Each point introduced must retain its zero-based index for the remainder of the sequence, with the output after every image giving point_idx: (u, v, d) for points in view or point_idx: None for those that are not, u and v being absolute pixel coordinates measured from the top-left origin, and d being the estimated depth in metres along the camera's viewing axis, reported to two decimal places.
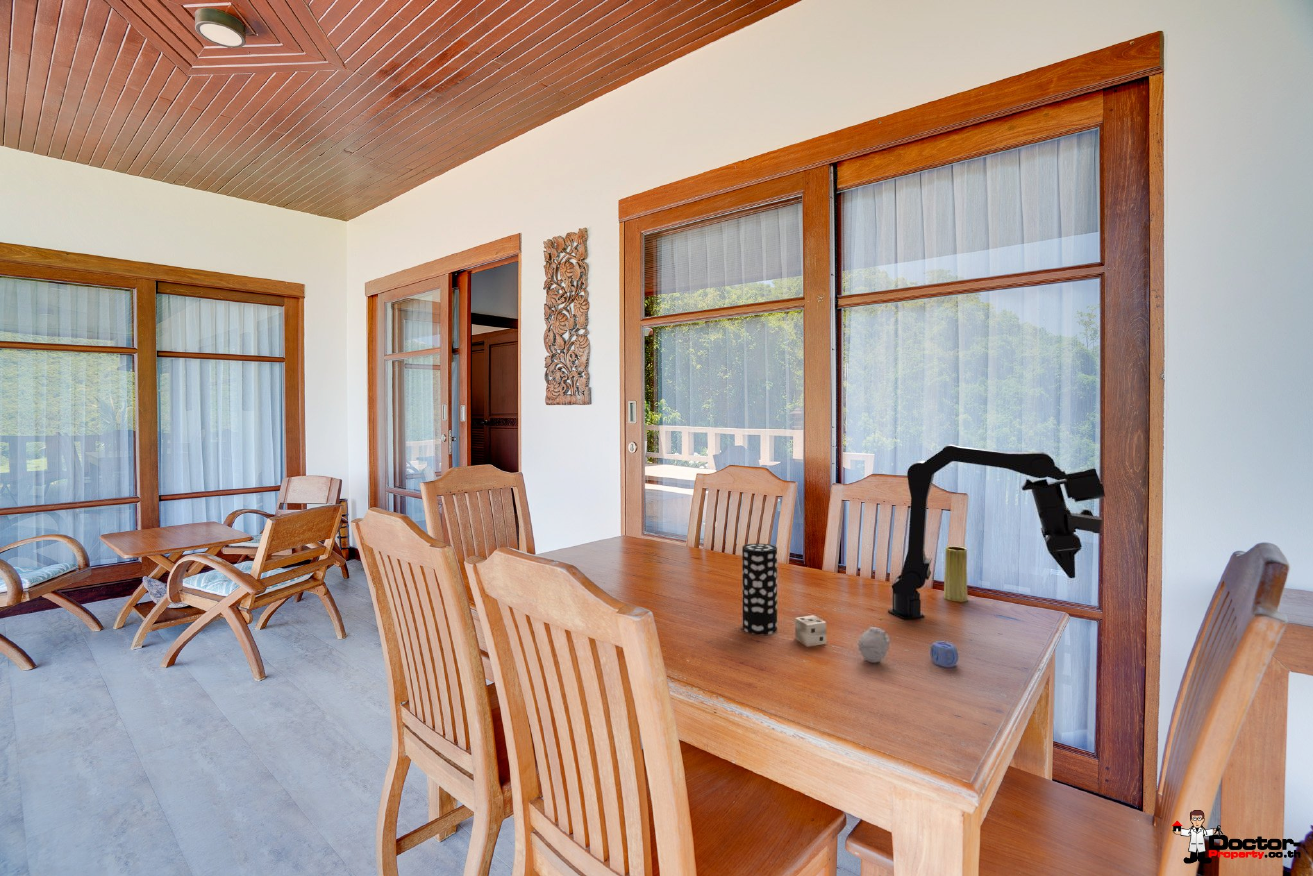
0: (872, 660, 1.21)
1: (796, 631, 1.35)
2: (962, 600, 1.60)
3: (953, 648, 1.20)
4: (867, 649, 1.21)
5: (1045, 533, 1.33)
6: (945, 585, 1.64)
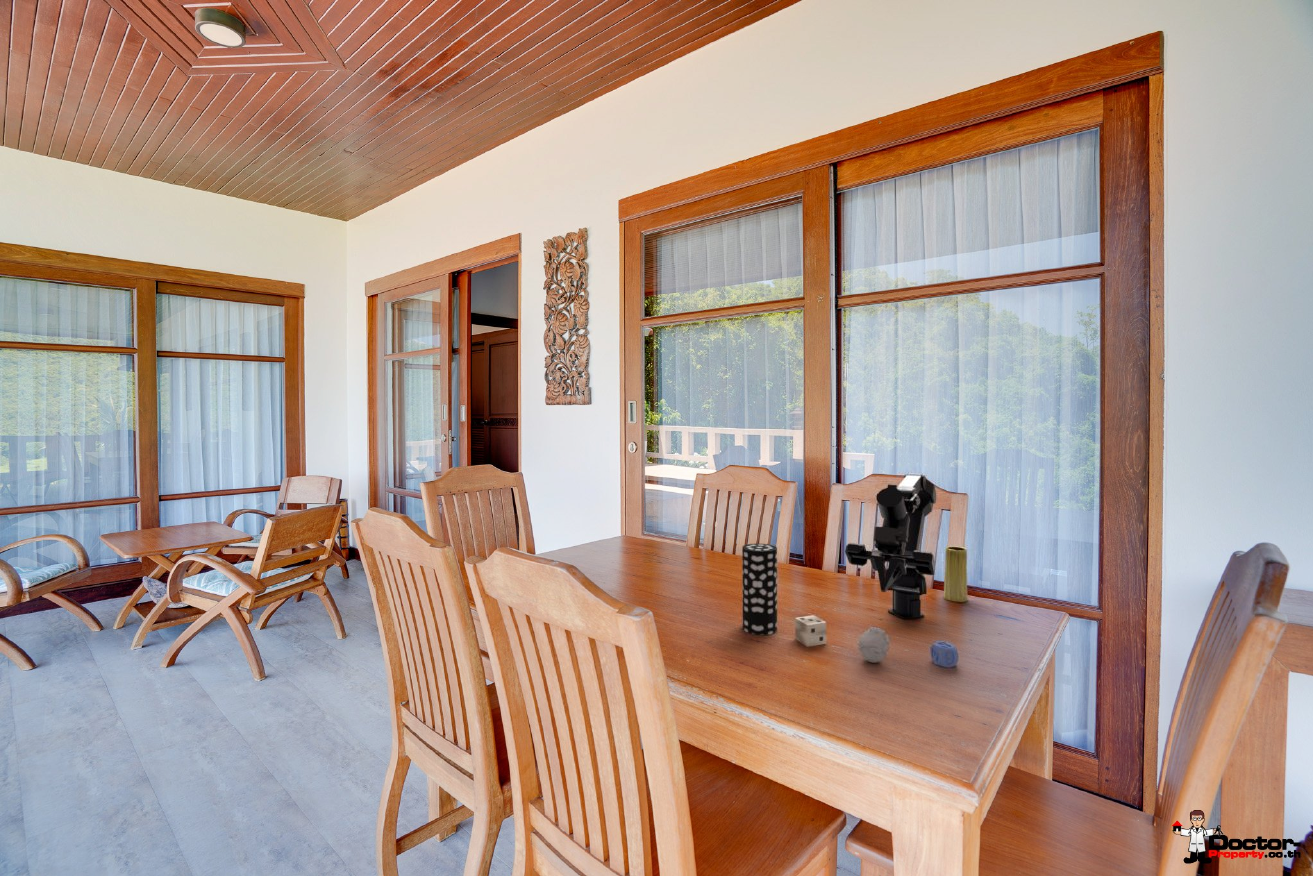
0: (872, 660, 1.21)
1: (796, 631, 1.35)
2: (962, 600, 1.60)
3: (953, 648, 1.20)
4: (867, 649, 1.21)
5: None
6: (945, 585, 1.64)
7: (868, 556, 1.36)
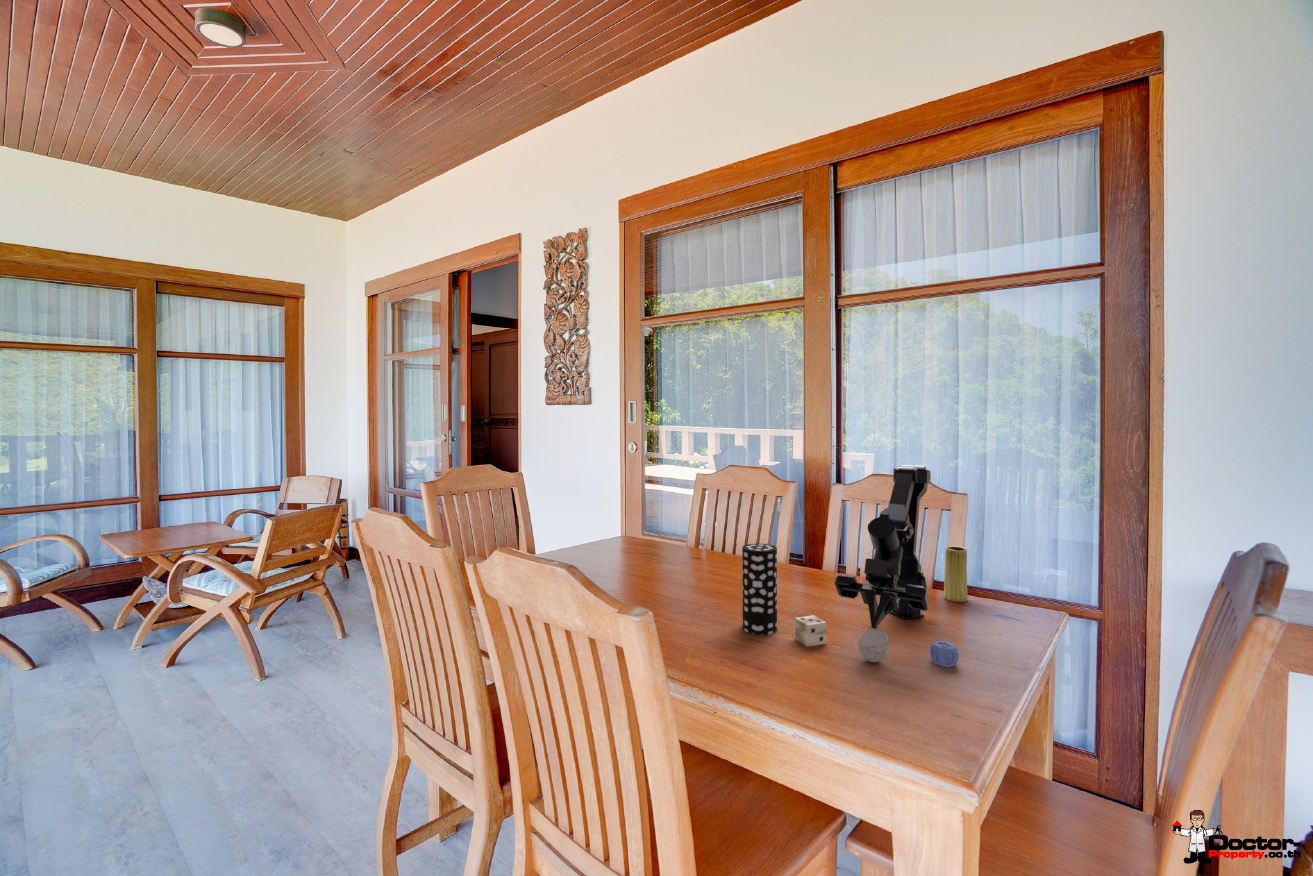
0: (872, 660, 1.21)
1: (796, 631, 1.35)
2: (962, 600, 1.60)
3: (953, 648, 1.20)
4: (867, 649, 1.21)
5: None
6: (945, 585, 1.64)
7: (859, 589, 1.30)
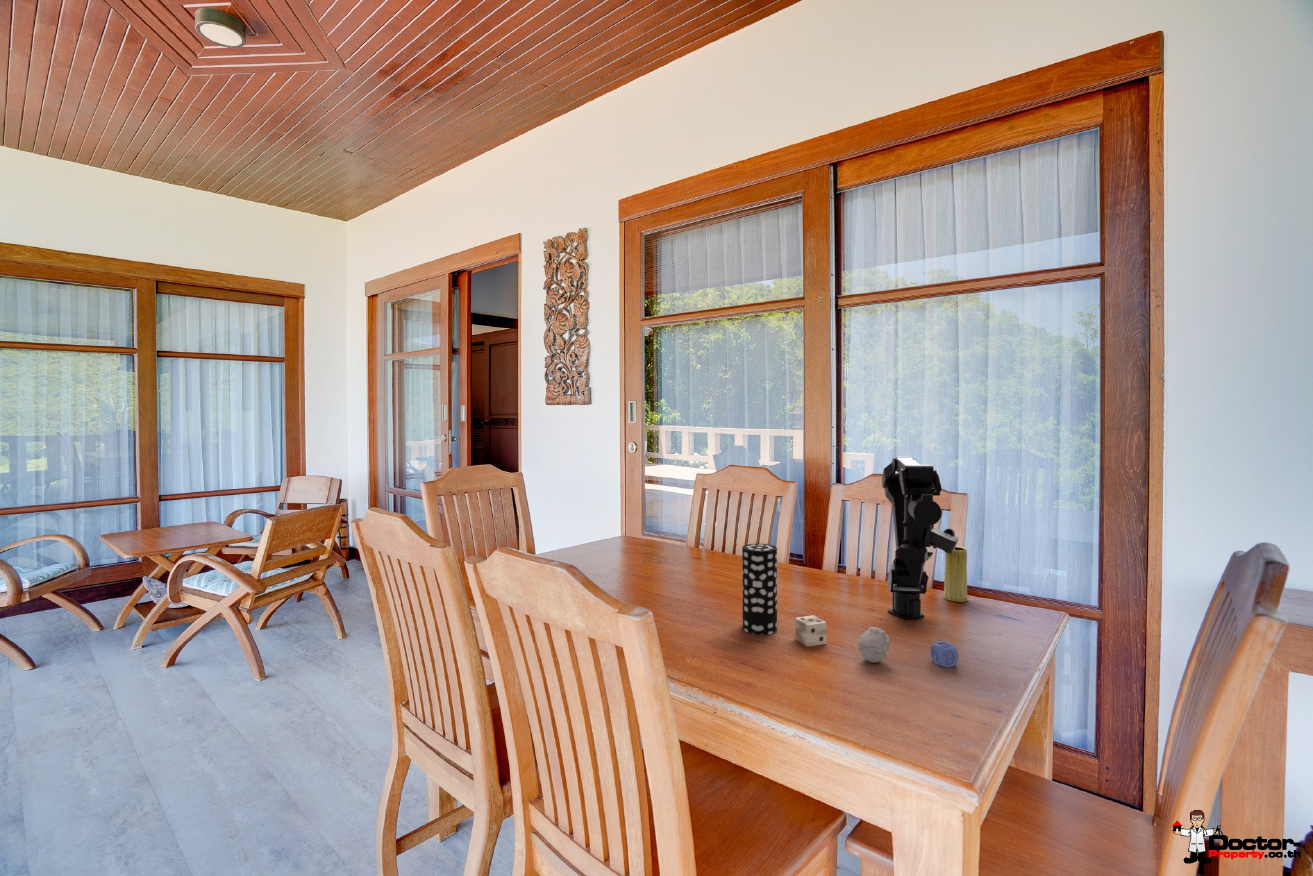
0: (872, 660, 1.21)
1: (796, 631, 1.35)
2: (962, 600, 1.60)
3: (953, 648, 1.20)
4: (867, 649, 1.21)
5: (903, 542, 1.37)
6: (945, 585, 1.64)
7: None
